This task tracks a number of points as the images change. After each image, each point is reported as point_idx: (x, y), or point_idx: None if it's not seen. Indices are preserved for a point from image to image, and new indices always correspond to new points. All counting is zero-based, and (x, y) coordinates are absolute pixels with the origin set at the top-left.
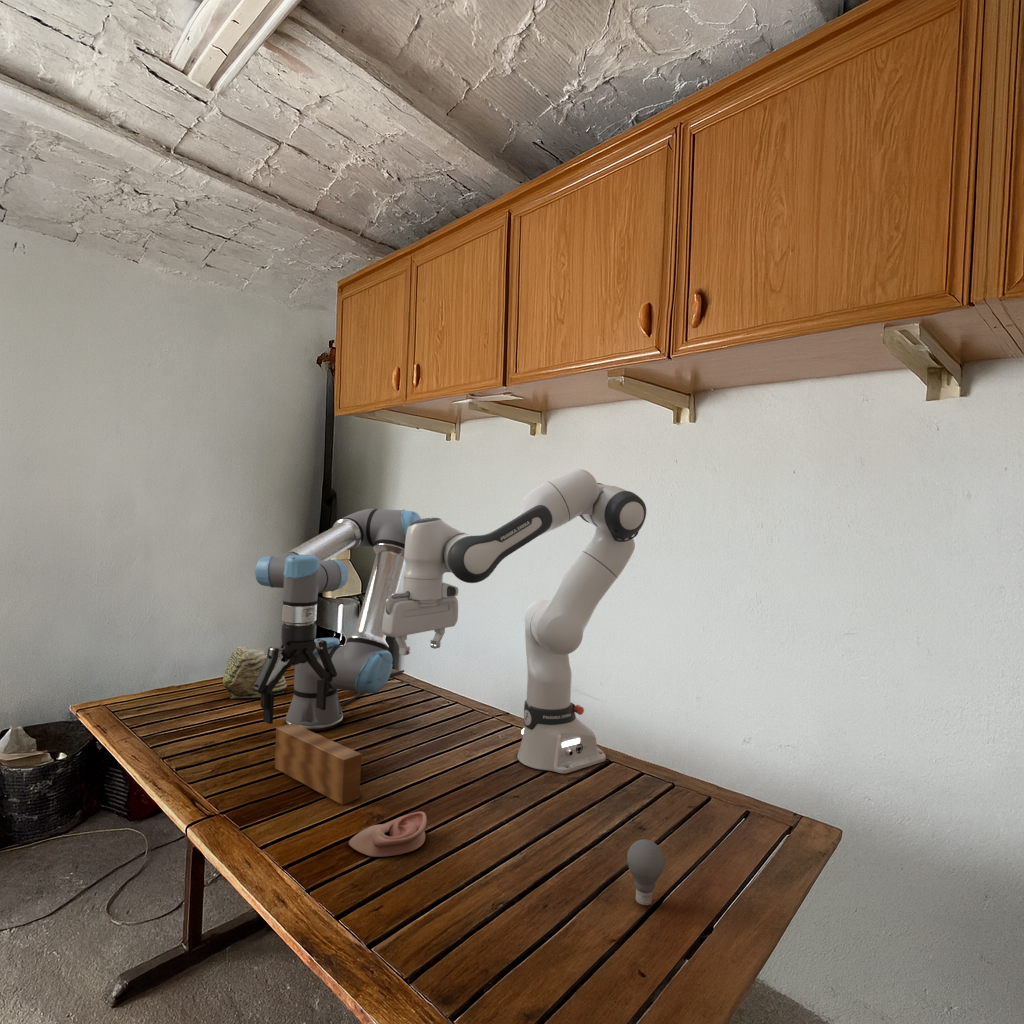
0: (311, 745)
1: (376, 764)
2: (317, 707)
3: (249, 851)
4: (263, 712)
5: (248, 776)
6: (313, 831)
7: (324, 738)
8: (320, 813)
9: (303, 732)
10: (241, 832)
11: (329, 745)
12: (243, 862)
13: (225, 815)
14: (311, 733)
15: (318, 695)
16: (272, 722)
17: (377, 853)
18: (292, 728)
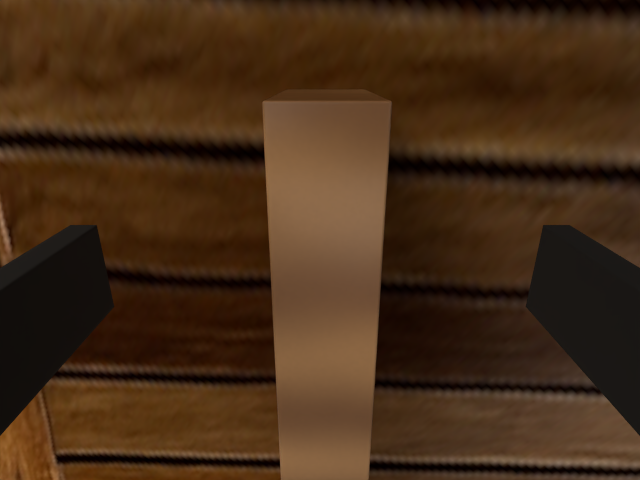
0: (278, 415)
1: None
2: (541, 244)
3: (32, 454)
4: (28, 252)
5: (172, 85)
6: (178, 476)
7: (362, 404)
8: (232, 432)
9: (338, 282)
10: None
11: (327, 468)
12: (11, 475)
13: None
14: (359, 320)
15: (604, 299)
16: (109, 308)
17: None
18: (329, 189)
